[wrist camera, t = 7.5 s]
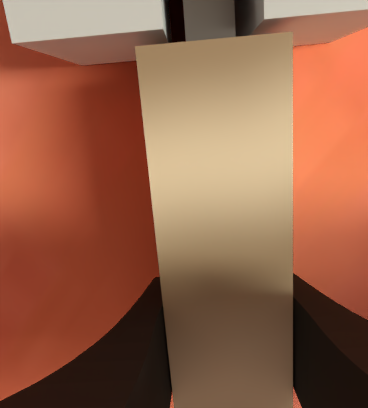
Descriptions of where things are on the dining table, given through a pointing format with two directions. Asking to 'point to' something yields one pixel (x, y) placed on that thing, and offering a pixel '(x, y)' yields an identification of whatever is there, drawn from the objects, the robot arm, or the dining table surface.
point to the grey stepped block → (164, 24)
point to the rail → (223, 207)
